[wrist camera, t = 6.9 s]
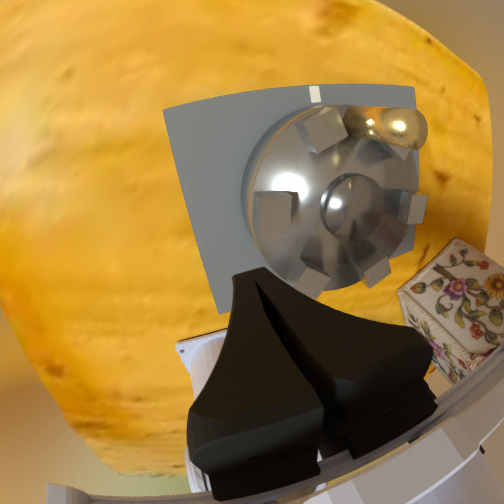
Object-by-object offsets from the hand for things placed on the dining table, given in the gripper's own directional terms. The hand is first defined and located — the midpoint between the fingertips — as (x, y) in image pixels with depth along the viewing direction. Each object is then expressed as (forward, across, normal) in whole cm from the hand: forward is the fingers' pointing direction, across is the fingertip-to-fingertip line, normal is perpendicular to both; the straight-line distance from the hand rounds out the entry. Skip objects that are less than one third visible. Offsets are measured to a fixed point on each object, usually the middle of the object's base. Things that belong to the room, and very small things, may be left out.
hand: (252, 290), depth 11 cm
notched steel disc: (+9, -8, 0) cm, 12 cm away
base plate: (+10, -8, 0) cm, 13 cm away
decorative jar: (+11, -25, +17) cm, 32 cm away
